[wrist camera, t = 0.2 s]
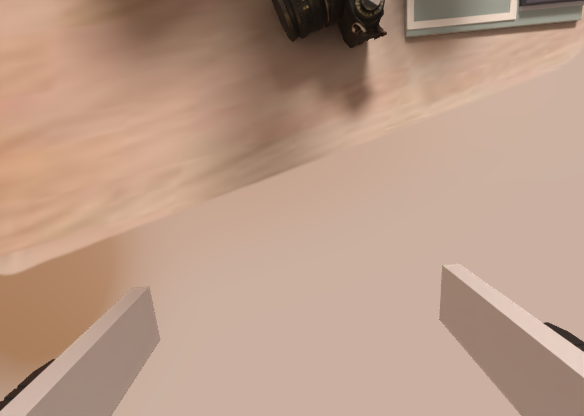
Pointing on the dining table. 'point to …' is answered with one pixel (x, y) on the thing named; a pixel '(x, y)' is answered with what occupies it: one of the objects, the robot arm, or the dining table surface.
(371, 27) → the film camera
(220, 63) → the dining table surface
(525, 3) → the pad
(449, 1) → the board
